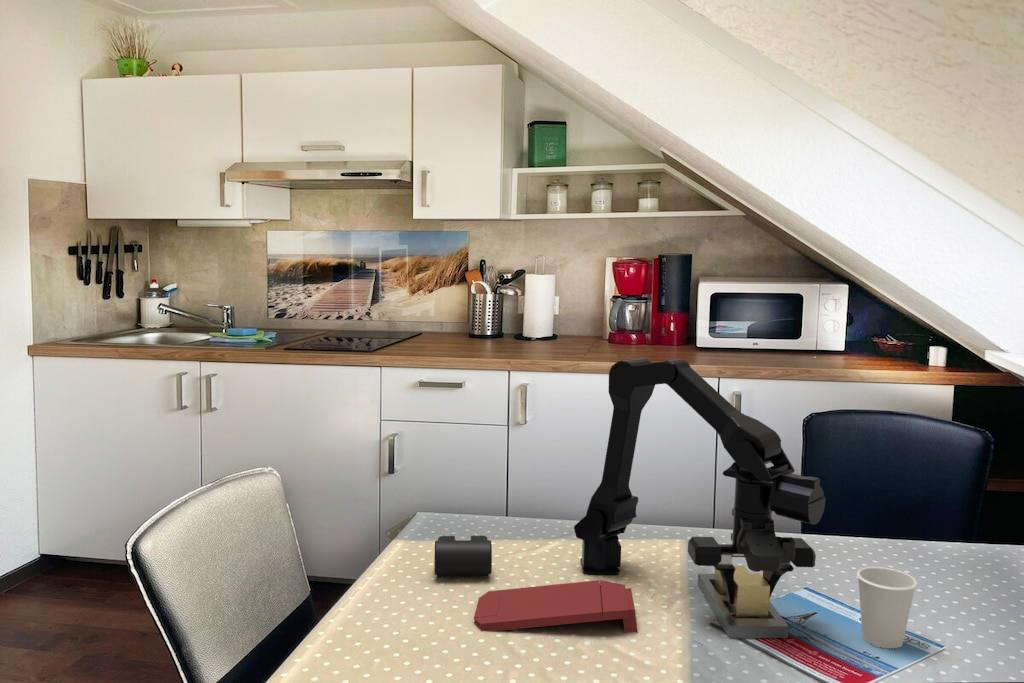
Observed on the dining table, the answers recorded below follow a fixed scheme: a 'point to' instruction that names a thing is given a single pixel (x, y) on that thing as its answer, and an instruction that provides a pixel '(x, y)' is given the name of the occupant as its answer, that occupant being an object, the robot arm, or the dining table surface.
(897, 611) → the dixie cup
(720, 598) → the grey slotted tray
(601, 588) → the red ramp
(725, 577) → the robot arm
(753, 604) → the wooden cube
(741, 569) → the tan block seated
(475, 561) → the end cap
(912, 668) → the dining table surface
